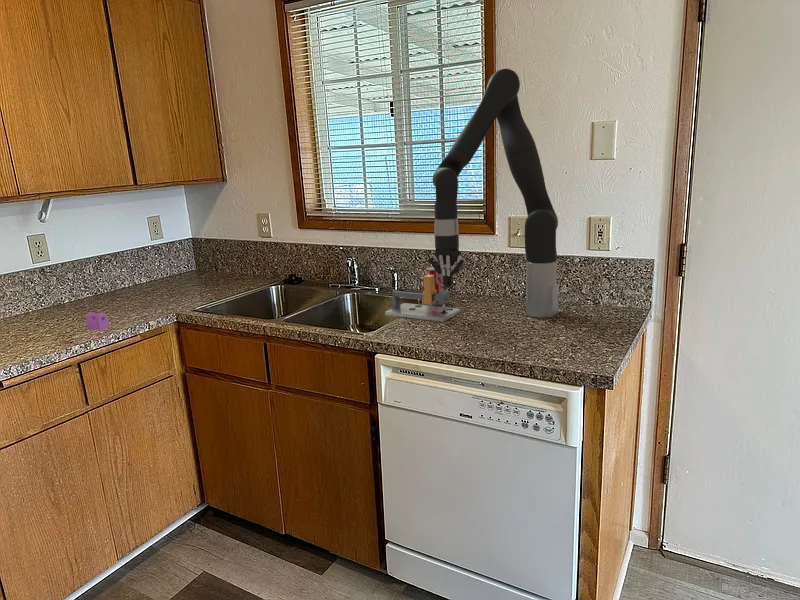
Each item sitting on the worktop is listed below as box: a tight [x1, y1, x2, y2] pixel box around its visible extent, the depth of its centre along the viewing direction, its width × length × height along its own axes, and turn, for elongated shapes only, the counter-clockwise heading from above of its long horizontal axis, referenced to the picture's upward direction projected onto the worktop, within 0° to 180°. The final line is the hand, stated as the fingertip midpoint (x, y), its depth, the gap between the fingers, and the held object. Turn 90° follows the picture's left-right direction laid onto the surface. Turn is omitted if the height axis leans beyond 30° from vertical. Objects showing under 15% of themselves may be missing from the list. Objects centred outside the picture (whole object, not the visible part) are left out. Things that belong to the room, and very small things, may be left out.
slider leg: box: [422, 275, 437, 310], centre depth 184 cm, size 3×4×12 cm
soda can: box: [424, 265, 447, 307], centre depth 198 cm, size 7×7×13 cm
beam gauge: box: [390, 290, 450, 313], centre depth 187 cm, size 20×4×7 cm, turn 58°
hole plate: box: [384, 302, 462, 323], centre depth 188 cm, size 22×12×1 cm, turn 58°
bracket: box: [85, 311, 110, 331], centre depth 183 cm, size 13×6×7 cm, turn 160°
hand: (448, 286), depth 180 cm, fingers closed
